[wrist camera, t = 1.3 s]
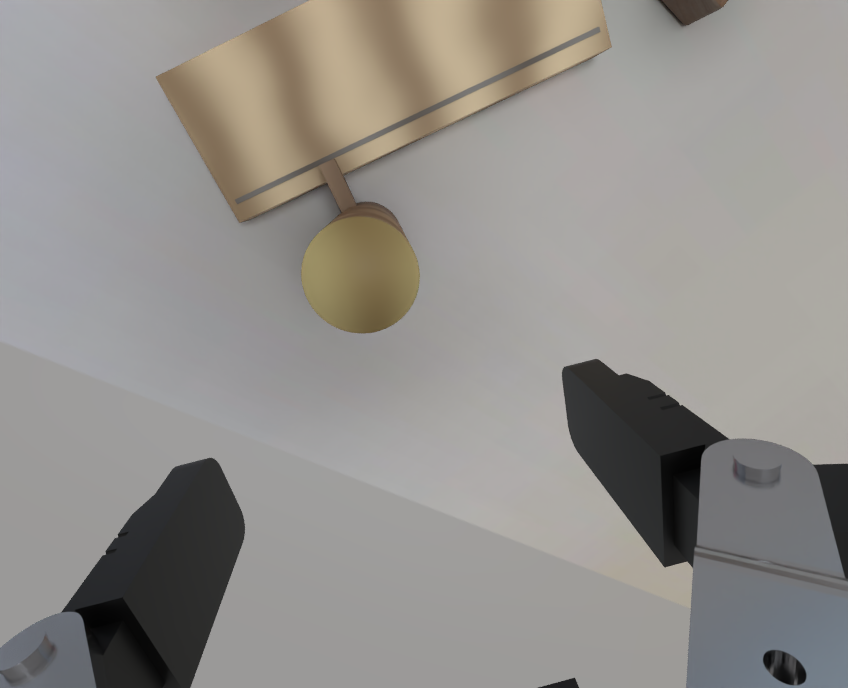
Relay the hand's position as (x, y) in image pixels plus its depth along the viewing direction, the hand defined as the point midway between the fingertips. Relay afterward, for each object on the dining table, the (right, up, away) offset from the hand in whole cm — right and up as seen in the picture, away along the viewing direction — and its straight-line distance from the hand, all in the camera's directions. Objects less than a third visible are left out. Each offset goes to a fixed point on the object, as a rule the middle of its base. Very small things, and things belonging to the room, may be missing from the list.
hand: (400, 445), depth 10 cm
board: (-2, +20, +19) cm, 28 cm away
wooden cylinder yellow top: (-4, +11, +22) cm, 25 cm away
